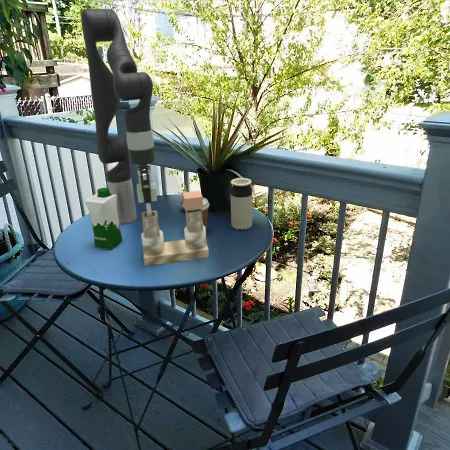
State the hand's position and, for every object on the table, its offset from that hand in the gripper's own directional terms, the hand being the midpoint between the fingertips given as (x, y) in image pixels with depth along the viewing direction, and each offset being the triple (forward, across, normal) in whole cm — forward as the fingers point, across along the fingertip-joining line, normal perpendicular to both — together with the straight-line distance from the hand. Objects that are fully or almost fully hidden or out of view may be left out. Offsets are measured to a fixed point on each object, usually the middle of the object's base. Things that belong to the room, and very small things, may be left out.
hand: (147, 198), depth 124 cm
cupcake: (+21, +35, -17) cm, 45 cm away
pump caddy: (+21, 0, -7) cm, 22 cm away
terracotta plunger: (+11, 0, -14) cm, 18 cm away
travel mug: (+21, +16, -34) cm, 43 cm away
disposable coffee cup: (+21, +16, -17) cm, 31 cm away
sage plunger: (+7, 0, 0) cm, 7 cm away
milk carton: (+21, +14, +16) cm, 30 cm away
